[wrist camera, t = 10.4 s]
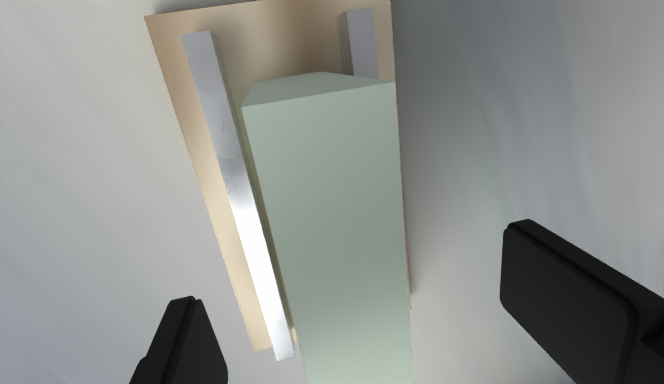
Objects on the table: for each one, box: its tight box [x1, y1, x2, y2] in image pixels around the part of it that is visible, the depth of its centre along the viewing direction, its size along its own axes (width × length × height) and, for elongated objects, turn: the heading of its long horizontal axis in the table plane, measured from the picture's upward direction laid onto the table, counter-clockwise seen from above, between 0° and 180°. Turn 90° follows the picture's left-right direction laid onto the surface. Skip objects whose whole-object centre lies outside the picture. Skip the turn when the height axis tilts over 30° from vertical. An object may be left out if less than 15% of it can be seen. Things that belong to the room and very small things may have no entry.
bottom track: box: [144, 0, 411, 361], centre depth 16 cm, size 10×18×3 cm, turn 9°
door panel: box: [241, 71, 414, 384], centre depth 13 cm, size 3×12×9 cm, turn 8°
